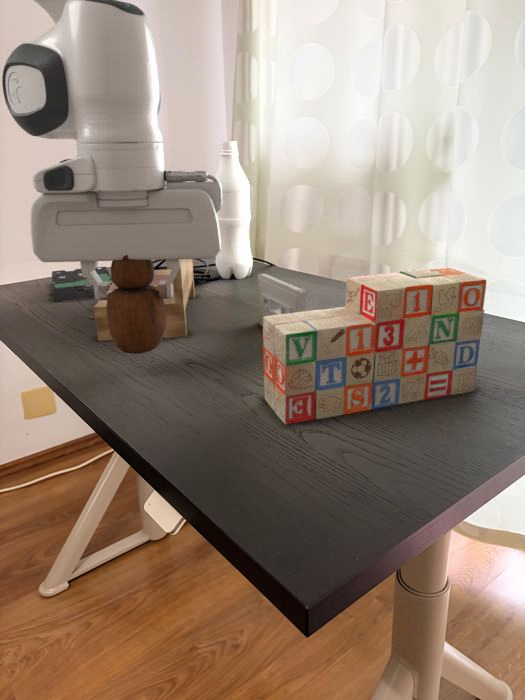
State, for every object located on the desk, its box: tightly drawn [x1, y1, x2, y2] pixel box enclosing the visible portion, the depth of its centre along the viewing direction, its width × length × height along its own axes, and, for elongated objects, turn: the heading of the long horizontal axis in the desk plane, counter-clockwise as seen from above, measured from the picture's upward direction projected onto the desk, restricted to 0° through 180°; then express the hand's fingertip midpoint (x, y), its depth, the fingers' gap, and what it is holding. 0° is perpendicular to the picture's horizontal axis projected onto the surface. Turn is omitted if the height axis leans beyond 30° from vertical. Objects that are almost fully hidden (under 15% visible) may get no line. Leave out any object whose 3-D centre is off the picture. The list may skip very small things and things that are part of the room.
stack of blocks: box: [262, 267, 487, 425], centre depth 59 cm, size 21×6×12 cm, turn 109°
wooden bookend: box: [93, 259, 196, 342], centre depth 88 cm, size 12×22×12 cm, turn 3°
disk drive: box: [51, 266, 113, 302], centre depth 107 cm, size 10×3×15 cm
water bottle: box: [214, 140, 253, 280], centre depth 110 cm, size 7×7×25 cm
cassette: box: [257, 272, 307, 327], centre depth 79 cm, size 12×2×8 cm, turn 26°
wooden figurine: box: [106, 255, 167, 355], centre depth 66 cm, size 7×6×15 cm
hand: (134, 298), depth 67 cm, fingers closed on wooden figurine, 6 cm apart
